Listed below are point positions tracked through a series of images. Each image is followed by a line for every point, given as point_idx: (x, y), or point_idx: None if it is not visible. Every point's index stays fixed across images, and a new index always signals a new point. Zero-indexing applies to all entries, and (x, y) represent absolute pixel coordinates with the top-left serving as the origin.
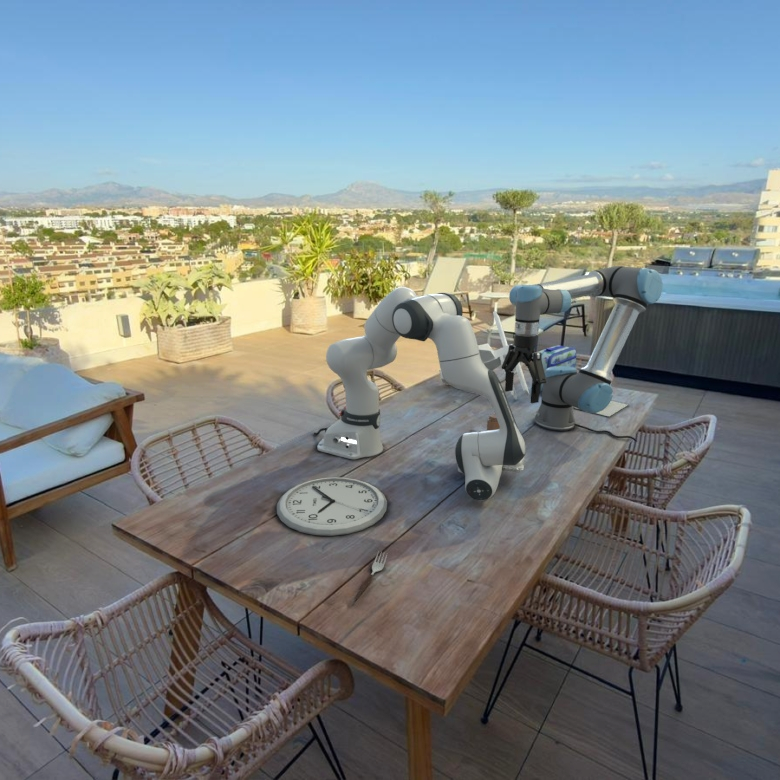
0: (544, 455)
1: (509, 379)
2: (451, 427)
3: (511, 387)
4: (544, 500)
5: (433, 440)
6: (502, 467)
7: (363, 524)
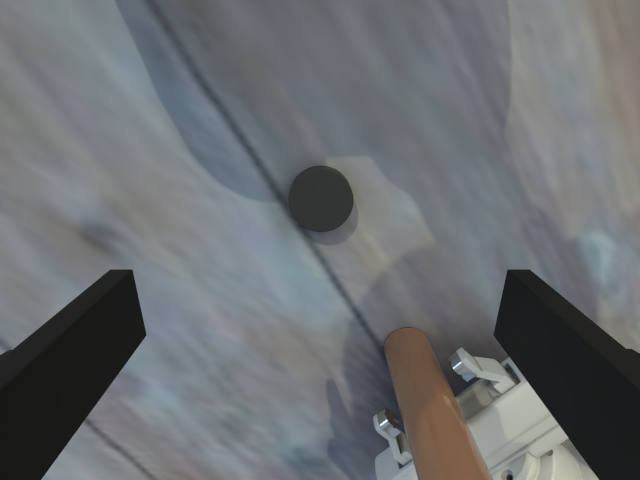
0: (412, 112)
1: (64, 406)
2: (41, 289)
3: (117, 303)
4: (636, 329)
5: (152, 392)
6: (558, 445)
7: None
